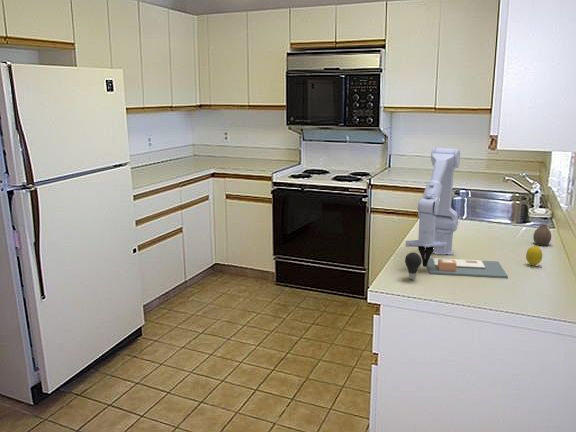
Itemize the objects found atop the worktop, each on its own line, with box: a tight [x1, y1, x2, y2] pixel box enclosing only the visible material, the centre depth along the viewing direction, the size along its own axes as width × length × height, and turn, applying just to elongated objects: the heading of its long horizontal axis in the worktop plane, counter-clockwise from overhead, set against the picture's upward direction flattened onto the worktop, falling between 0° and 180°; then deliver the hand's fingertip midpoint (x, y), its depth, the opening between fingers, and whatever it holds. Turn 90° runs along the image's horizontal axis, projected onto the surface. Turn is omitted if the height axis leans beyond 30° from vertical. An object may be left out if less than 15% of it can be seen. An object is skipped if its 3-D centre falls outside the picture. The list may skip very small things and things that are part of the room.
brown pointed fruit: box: [532, 223, 552, 247], centre depth 217 cm, size 7×7×9 cm
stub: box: [438, 258, 457, 271], centre depth 186 cm, size 4×6×3 cm, turn 79°
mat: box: [427, 257, 509, 279], centre depth 189 cm, size 16×27×1 cm, turn 80°
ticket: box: [433, 257, 485, 269], centre depth 192 cm, size 8×18×1 cm, turn 79°
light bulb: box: [404, 252, 422, 280], centre depth 178 cm, size 6×6×10 cm
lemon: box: [525, 245, 543, 267], centre depth 191 cm, size 6×6×8 cm
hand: (424, 265), depth 188 cm, fingers closed
